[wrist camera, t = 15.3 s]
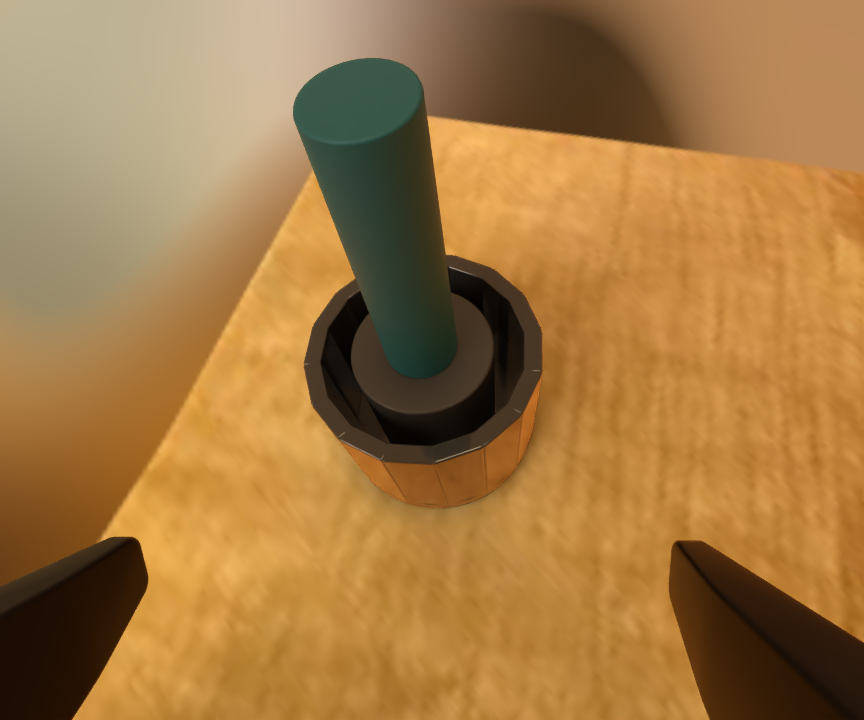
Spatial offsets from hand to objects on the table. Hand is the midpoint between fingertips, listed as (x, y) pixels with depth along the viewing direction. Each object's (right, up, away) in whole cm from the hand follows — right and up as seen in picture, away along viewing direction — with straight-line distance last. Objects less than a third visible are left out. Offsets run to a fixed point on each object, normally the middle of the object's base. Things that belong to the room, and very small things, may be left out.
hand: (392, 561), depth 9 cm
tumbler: (+1, +1, +10) cm, 10 cm away
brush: (+1, +2, +10) cm, 10 cm away
